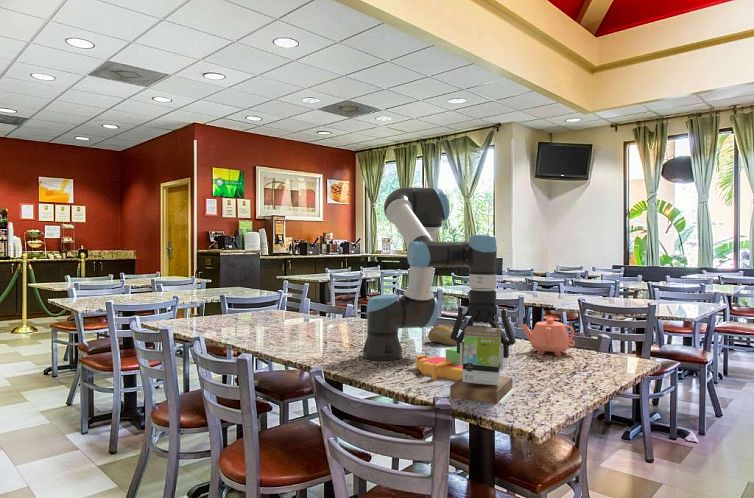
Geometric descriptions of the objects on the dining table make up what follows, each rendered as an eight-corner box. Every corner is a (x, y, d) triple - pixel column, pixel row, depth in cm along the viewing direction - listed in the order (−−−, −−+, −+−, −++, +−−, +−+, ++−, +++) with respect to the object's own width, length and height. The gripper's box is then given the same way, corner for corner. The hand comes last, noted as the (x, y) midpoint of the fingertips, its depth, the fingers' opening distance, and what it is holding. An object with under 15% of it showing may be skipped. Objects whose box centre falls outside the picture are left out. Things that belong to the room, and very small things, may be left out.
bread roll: (436, 340, 237) (436, 322, 237) (464, 344, 227) (464, 325, 227) (423, 342, 230) (423, 324, 230) (450, 347, 220) (450, 328, 220)
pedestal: (450, 396, 145) (450, 385, 145) (469, 382, 160) (469, 372, 160) (497, 403, 139) (497, 392, 139) (512, 387, 154) (512, 377, 154)
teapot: (519, 350, 213) (519, 317, 213) (551, 347, 221) (551, 315, 221) (549, 358, 199) (549, 322, 199) (581, 354, 206) (581, 320, 206)
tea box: (499, 386, 141) (500, 330, 141) (461, 382, 144) (462, 328, 144) (500, 374, 156) (502, 323, 156) (466, 371, 158) (467, 321, 158)
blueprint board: (438, 397, 147) (438, 394, 147) (457, 384, 162) (457, 381, 162) (503, 406, 139) (503, 403, 139) (517, 391, 153) (517, 388, 153)
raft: (434, 363, 191) (434, 338, 191) (510, 377, 171) (510, 350, 171) (393, 375, 174) (394, 347, 174) (472, 392, 154) (473, 361, 154)
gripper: (439, 288, 152) (438, 365, 152) (521, 292, 141) (521, 374, 141) (448, 286, 158) (447, 360, 159) (527, 290, 148) (526, 368, 148)
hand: (482, 367), depth 150 cm, fingers closed on tea box, 11 cm apart
